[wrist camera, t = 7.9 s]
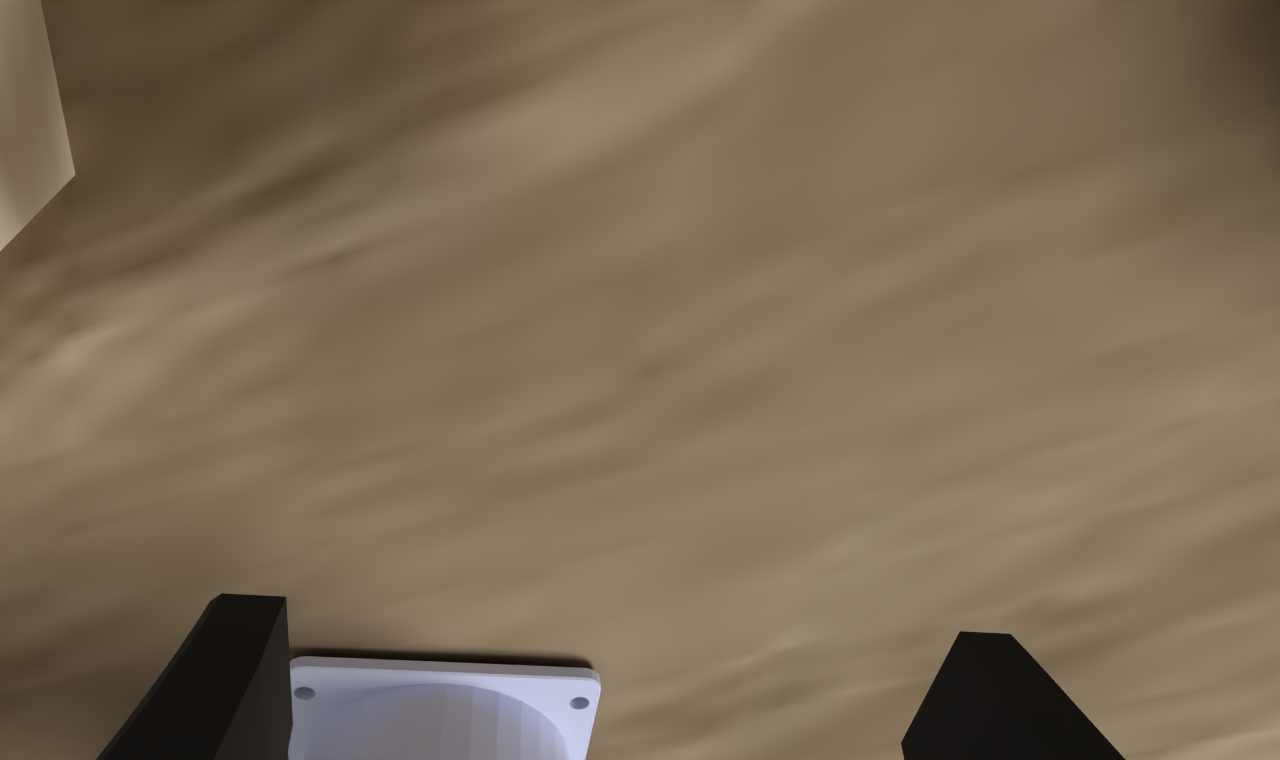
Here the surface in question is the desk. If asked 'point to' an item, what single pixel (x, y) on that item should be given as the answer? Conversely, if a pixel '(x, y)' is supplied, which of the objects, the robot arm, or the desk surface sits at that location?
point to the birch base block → (28, 119)
